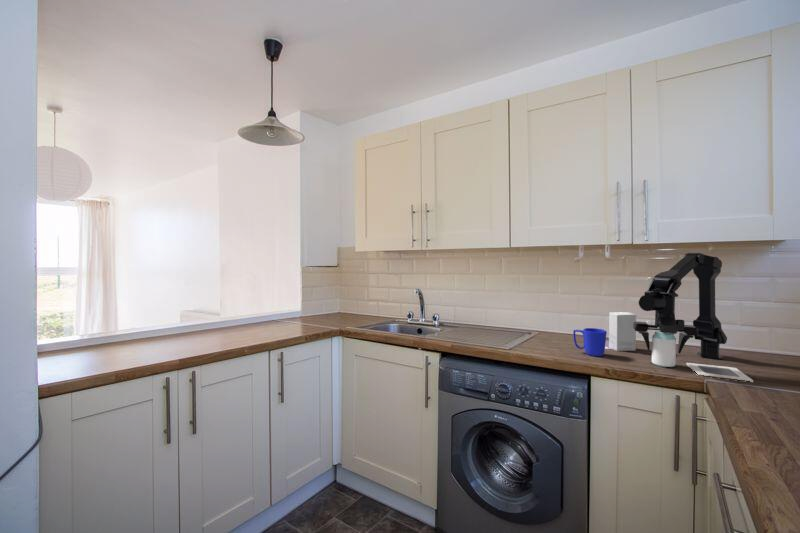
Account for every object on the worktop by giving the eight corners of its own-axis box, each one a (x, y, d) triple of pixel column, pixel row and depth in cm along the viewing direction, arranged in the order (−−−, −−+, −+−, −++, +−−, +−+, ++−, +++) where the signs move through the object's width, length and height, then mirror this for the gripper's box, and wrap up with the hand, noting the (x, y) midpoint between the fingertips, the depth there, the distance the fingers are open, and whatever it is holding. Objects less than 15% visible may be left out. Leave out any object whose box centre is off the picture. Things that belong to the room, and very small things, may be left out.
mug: (574, 349, 155) (575, 326, 154) (607, 353, 148) (607, 329, 148) (571, 353, 148) (571, 329, 148) (604, 358, 141) (605, 333, 141)
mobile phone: (606, 347, 156) (596, 339, 170) (605, 349, 156) (596, 341, 170) (625, 348, 154) (614, 340, 168) (625, 350, 154) (614, 342, 169)
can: (675, 369, 128) (676, 335, 128) (651, 365, 133) (651, 333, 132) (675, 364, 134) (676, 332, 133) (652, 361, 138) (652, 329, 138)
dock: (686, 364, 134) (686, 362, 134) (735, 369, 128) (735, 367, 128) (698, 375, 122) (698, 373, 122) (753, 382, 116) (753, 380, 116)
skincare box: (627, 347, 158) (628, 311, 158) (636, 351, 152) (637, 314, 151) (607, 347, 158) (608, 311, 158) (616, 351, 152) (617, 314, 151)
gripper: (638, 310, 129) (637, 354, 130) (704, 314, 121) (702, 360, 122) (633, 306, 139) (632, 346, 140) (694, 309, 131) (692, 352, 132)
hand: (663, 351), depth 133 cm, fingers open, 9 cm apart
